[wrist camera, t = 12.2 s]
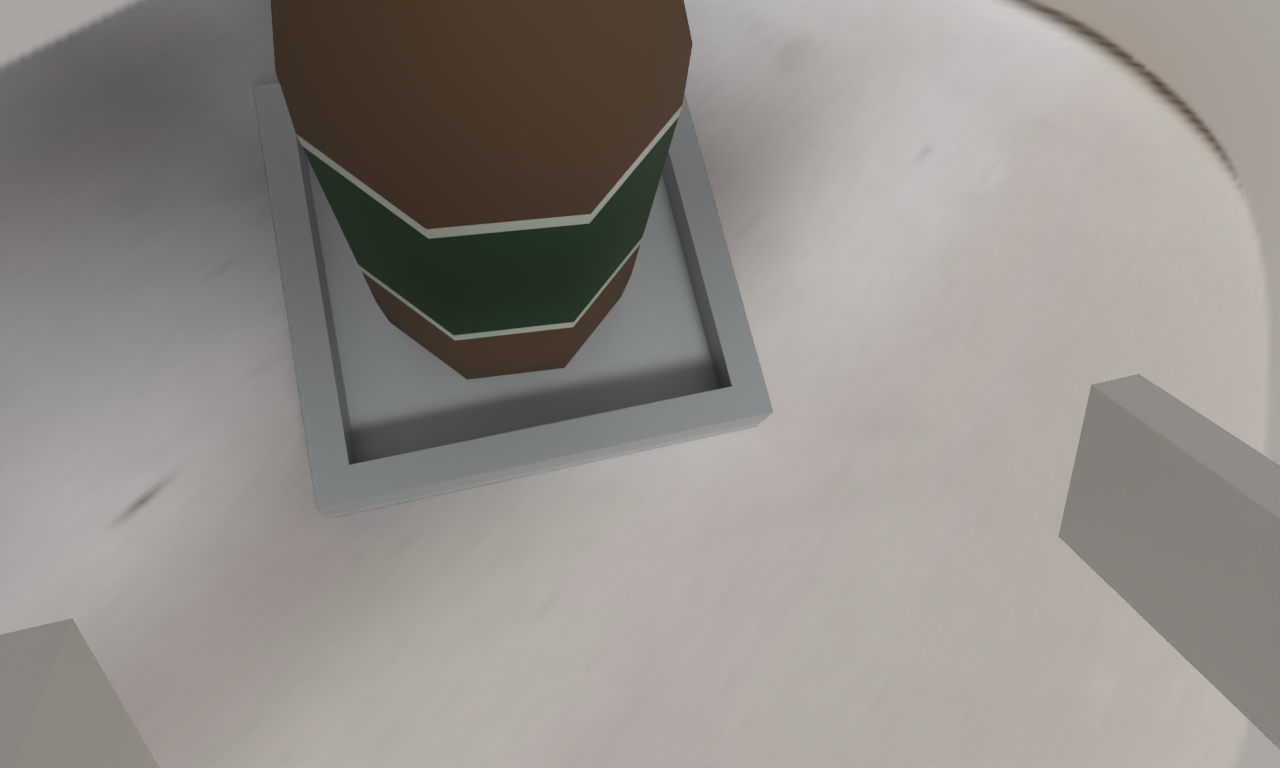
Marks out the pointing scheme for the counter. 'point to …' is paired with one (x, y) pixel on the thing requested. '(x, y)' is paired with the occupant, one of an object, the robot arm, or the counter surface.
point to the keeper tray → (517, 403)
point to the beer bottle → (488, 158)
